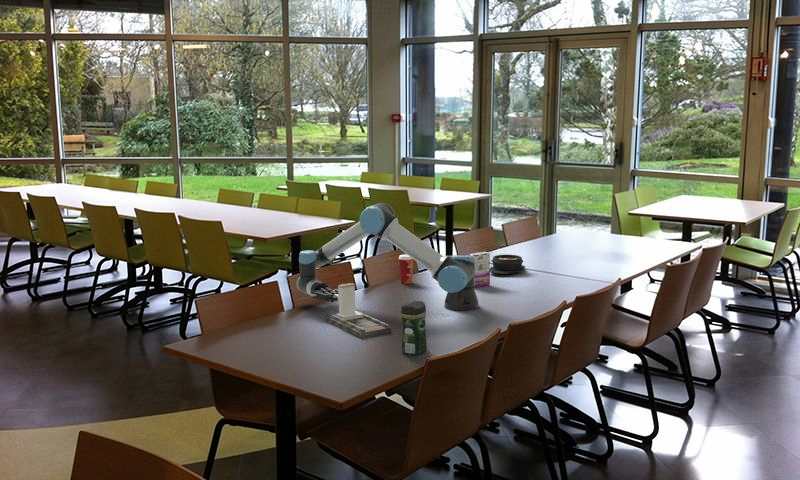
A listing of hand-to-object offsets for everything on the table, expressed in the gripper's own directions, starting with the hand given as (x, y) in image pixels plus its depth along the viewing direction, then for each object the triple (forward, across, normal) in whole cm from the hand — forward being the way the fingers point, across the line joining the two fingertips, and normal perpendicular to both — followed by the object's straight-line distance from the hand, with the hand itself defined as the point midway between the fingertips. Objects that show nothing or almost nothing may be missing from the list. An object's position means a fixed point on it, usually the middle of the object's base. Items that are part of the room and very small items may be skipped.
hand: (342, 300), depth 326 cm
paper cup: (-45, -60, -9) cm, 75 cm away
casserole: (-35, -117, -9) cm, 123 cm away
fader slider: (+4, -1, -6) cm, 8 cm away
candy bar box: (-19, -85, -9) cm, 88 cm away
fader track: (+11, -1, -9) cm, 14 cm away
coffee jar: (+51, -2, -9) cm, 52 cm away
